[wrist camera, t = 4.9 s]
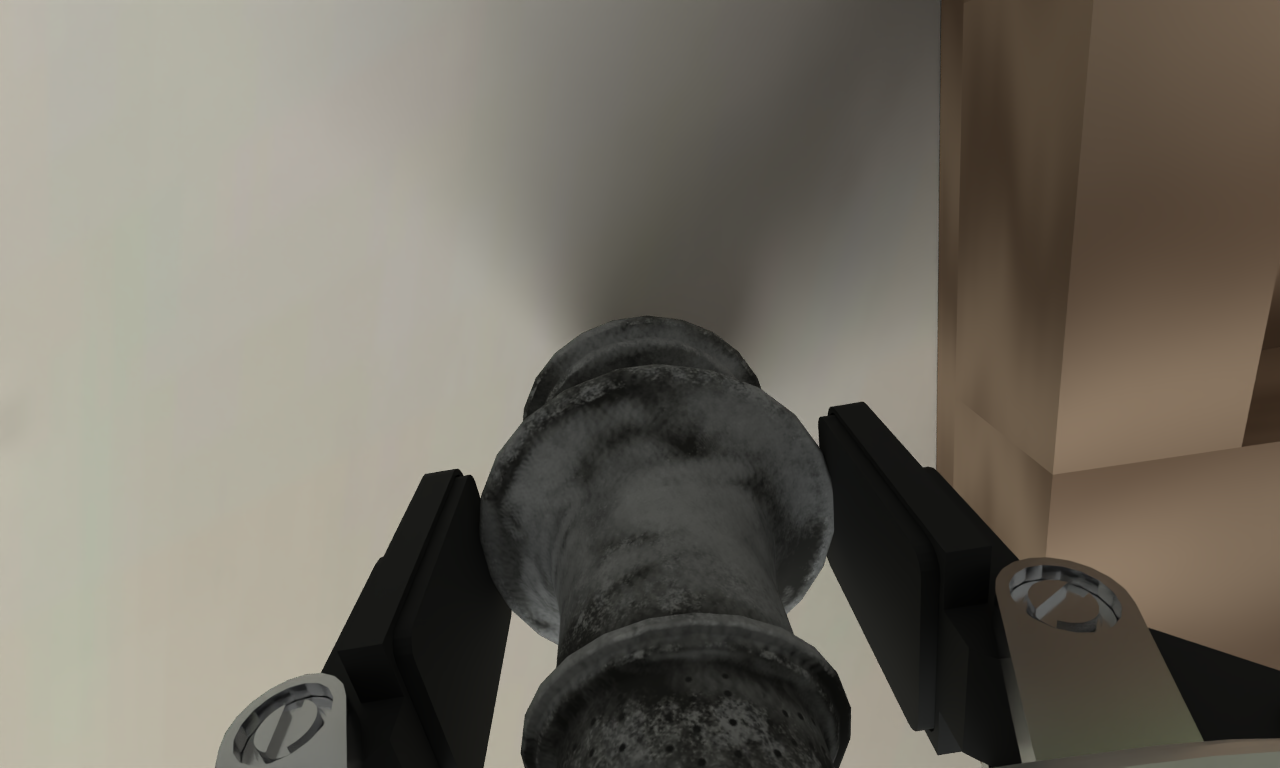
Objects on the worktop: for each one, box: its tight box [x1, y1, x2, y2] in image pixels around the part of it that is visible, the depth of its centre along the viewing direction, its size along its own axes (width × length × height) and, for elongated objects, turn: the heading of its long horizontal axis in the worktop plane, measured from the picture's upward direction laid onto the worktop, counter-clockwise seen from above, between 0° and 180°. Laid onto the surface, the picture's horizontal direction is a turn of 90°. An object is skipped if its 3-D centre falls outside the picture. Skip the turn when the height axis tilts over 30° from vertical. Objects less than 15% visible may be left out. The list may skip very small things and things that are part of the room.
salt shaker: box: [479, 316, 851, 768], centre depth 8 cm, size 6×6×12 cm
